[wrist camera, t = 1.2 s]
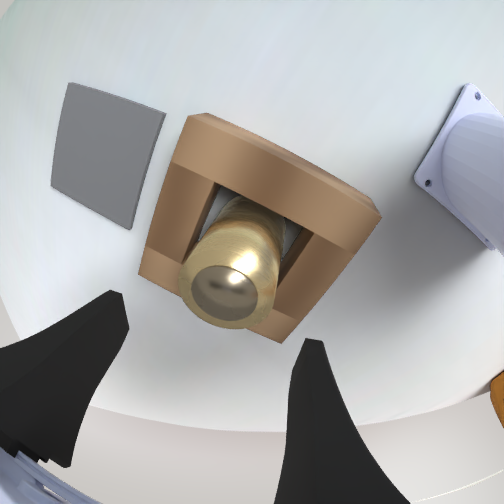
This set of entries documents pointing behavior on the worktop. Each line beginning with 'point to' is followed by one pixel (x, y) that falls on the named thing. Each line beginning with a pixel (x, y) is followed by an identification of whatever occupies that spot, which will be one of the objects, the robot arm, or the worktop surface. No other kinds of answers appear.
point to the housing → (267, 194)
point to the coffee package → (498, 396)
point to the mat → (104, 151)
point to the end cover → (235, 266)
